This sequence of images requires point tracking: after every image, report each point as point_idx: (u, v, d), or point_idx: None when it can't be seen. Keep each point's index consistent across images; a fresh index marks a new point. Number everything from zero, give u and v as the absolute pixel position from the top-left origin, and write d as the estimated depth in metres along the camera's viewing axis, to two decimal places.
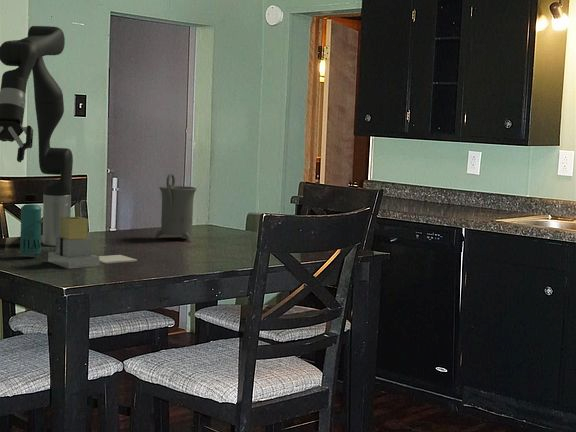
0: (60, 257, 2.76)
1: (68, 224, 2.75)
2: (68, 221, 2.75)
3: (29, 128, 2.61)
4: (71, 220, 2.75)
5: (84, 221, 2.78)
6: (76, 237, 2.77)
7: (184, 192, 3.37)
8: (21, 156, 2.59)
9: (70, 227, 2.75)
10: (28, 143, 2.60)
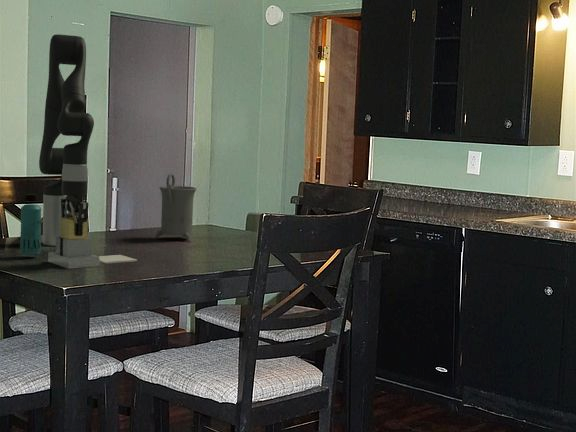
0: (60, 257, 2.76)
1: (68, 224, 2.75)
2: (68, 221, 2.75)
3: (80, 205, 2.73)
4: (71, 220, 2.75)
5: None
6: (76, 237, 2.77)
7: (184, 192, 3.37)
8: (77, 232, 2.76)
9: (70, 227, 2.75)
10: (78, 220, 2.74)
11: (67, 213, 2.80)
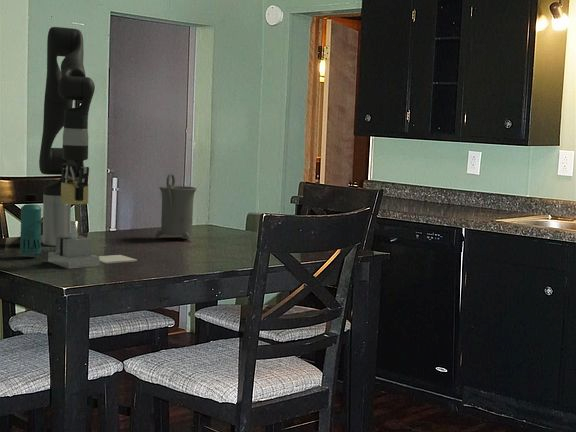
0: (60, 257, 2.76)
1: (69, 188, 2.74)
2: (69, 186, 2.74)
3: (80, 170, 2.71)
4: (72, 185, 2.74)
5: None
6: (77, 202, 2.76)
7: (184, 192, 3.37)
8: (78, 196, 2.75)
9: (70, 192, 2.74)
10: (79, 184, 2.72)
11: (68, 178, 2.79)
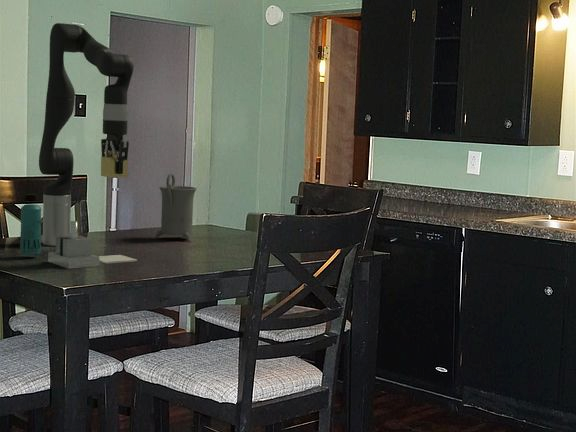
0: (60, 257, 2.76)
1: (109, 162, 2.84)
2: (109, 159, 2.84)
3: (121, 143, 2.81)
4: (112, 158, 2.84)
5: (124, 160, 2.86)
6: (116, 175, 2.85)
7: (184, 192, 3.37)
8: (118, 170, 2.84)
9: (110, 165, 2.84)
10: (119, 158, 2.82)
11: (107, 152, 2.88)
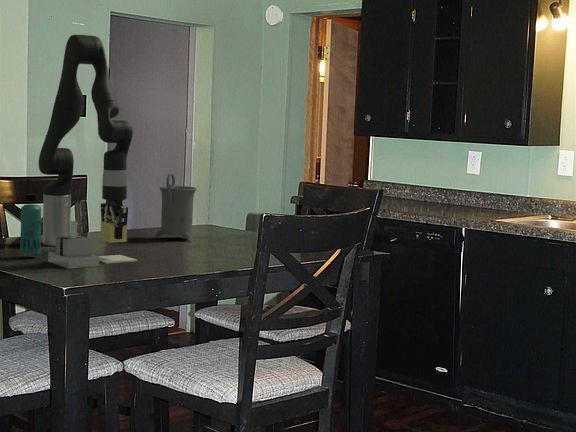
0: (60, 257, 2.76)
1: (109, 227, 2.86)
2: (108, 225, 2.86)
3: (120, 210, 2.83)
4: (111, 224, 2.86)
5: None
6: (116, 240, 2.87)
7: (184, 192, 3.37)
8: (118, 235, 2.86)
9: (110, 231, 2.86)
10: (119, 224, 2.84)
11: (107, 217, 2.90)
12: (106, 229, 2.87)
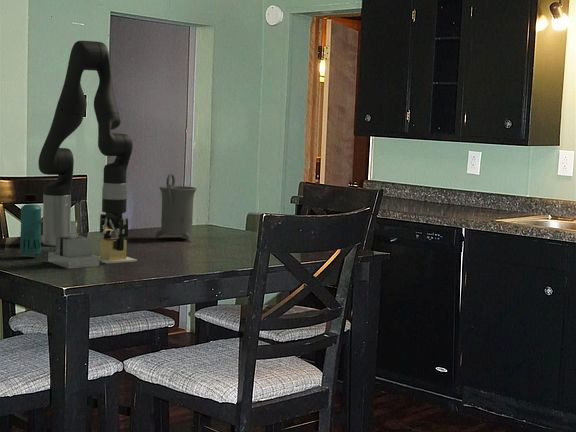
0: (60, 257, 2.76)
1: (108, 245, 2.87)
2: (108, 242, 2.87)
3: (120, 221, 2.84)
4: (111, 241, 2.87)
5: None
6: (116, 258, 2.88)
7: (184, 192, 3.37)
8: (119, 246, 2.86)
9: (110, 248, 2.87)
10: (120, 235, 2.84)
11: (106, 229, 2.91)
12: (106, 247, 2.88)
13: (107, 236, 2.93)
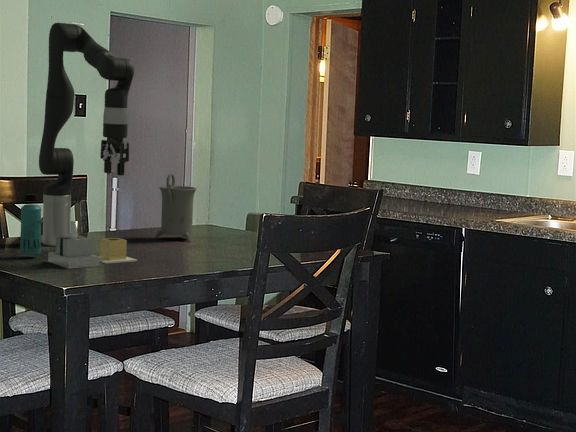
0: (60, 257, 2.76)
1: (108, 245, 2.87)
2: (108, 242, 2.87)
3: (121, 145, 2.83)
4: (111, 241, 2.87)
5: (123, 242, 2.89)
6: (116, 258, 2.88)
7: (184, 192, 3.37)
8: (119, 171, 2.86)
9: (110, 248, 2.87)
10: (121, 159, 2.84)
11: (106, 154, 2.91)
12: (106, 247, 2.88)
13: (108, 162, 2.93)
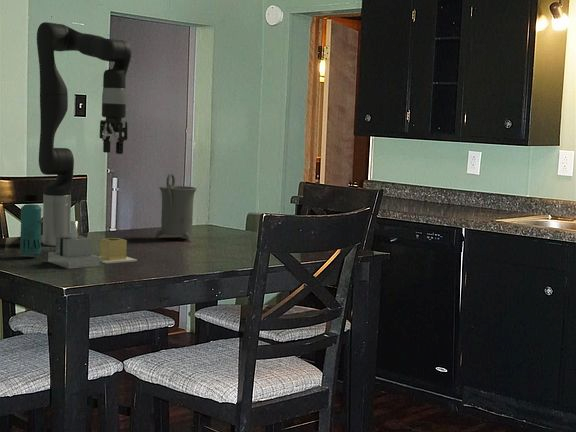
0: (60, 257, 2.76)
1: (108, 245, 2.87)
2: (108, 242, 2.87)
3: (119, 124, 2.91)
4: (111, 241, 2.87)
5: (123, 242, 2.89)
6: (116, 258, 2.88)
7: (184, 192, 3.37)
8: (118, 149, 2.94)
9: (110, 248, 2.87)
10: (119, 138, 2.91)
11: (105, 134, 2.99)
12: (106, 247, 2.88)
13: (107, 141, 3.01)
